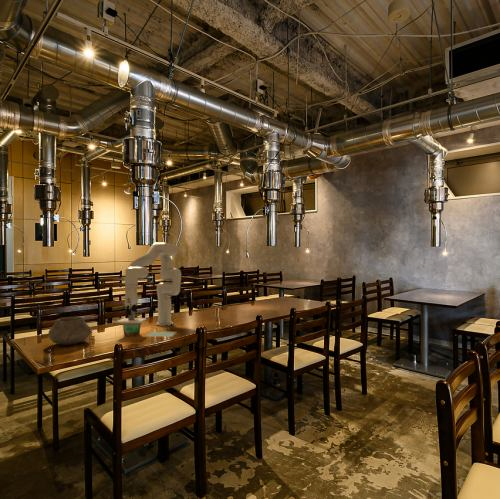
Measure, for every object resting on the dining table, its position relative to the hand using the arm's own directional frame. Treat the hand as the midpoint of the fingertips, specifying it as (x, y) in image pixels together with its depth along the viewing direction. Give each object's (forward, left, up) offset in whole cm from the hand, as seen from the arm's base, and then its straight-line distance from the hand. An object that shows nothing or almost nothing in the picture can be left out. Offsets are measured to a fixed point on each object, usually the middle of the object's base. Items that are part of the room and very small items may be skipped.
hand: (131, 313), depth 211 cm
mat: (-5, +18, -15) cm, 24 cm away
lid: (0, 0, -5) cm, 5 cm away
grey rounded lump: (+17, -30, -15) cm, 38 cm away
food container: (0, 0, -15) cm, 15 cm away
